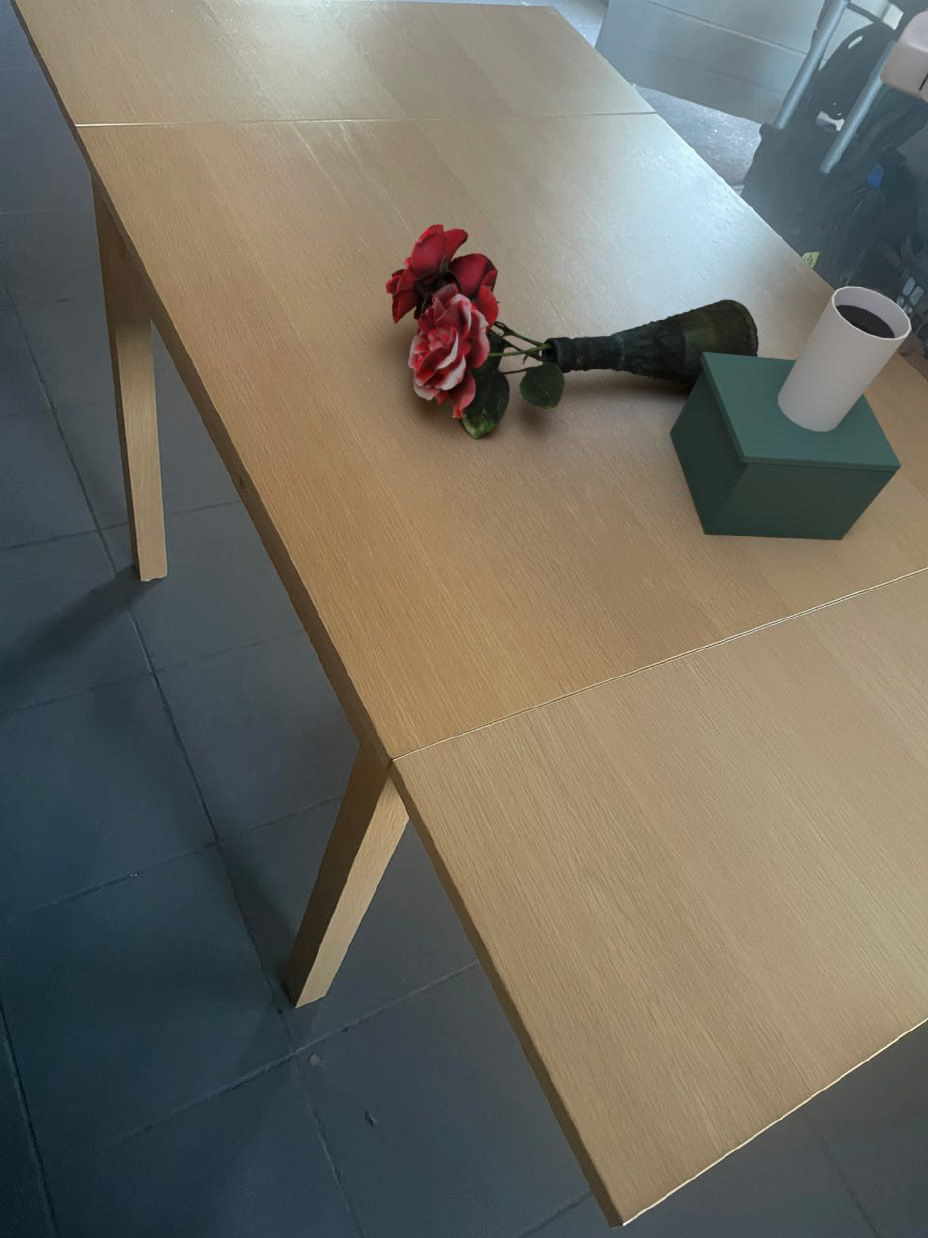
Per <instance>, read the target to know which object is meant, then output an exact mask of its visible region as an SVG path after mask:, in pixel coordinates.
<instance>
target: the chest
mask: <svg viewBox="0 0 928 1238" xmlns="http://www.w3.org/2000/svg"><path fill="white" fill-rule="evenodd" d="M669 434H670V437H671V440H672V444H673V446H674V449H675V452H676V454H677V458H678V460H679V463H680V466H681V469H682V472H683V475H684V478H685V480H686V483H687V486H688V489H689V492H690V495H691V498H692V501H693V503H694V506H695V509H696V512H697V515H698V517H699V518H698V519H699V521H700V524H701V526H702V530H703V533H704V534H705V535H719V536H739V537H740V536H742V537H762V538H763V537H765V538H785V539H786V538H789V539H809V540H810V539H811V540H831V541H833V540H835V541H842V539H843V538H844V537H845V536H846V535H847V533H848V532H849V531H850V530H851V529H852V527H853V526H854V525H855V524H856V522H857V521H858V520H859V519H860V518H861V516H863V514H864V513H865V512H866V511H867V509H868V508H869V506H871V504H872V503H873V502H874V501H875V500H876V499H877V497H878V496H879V494H880V493H881V492H882V491H883V490H884V488H885V487H886V486H887V485H888V483H889V482H890V481H891V480H892V478H893V477H894V476H895V475H896V474H897V472H888V471H871V470H855V469H838V468H822V467H805V466H789V465H772V464H756V463H741V461H740V459H739V456H738V454H737V451H736V449H735V446H734V444H733V441H732V439H731V436H730V434H729V431H728V429H727V426H726V424H725V421H724V419H723V416H722V414H721V411H720V409H719V406H718V403H717V401H716V398H715V396H714V393H713V391H712V388H711V386H710V383H709V381H708V378H707V376H706V373H705V371H704V368H703V370H702V371H701V373H700V375H699V377H698V379H697V381H696V383H695V385H694V387H693V386H692V389H691V390H690V393H689V395H688V397H687V399H686V401H685V402H684V404H683V406H682V408H681V410H680V412H679V414H678V416H677V418H676V420H675V422H674V424H673V425H672V427H671V429H670V431H669Z"/></svg>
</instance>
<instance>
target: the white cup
mask: <svg viewBox="0 0 928 1238" xmlns="http://www.w3.org/2000/svg"><path fill="white" fill-rule="evenodd" d="M911 331H912V324H911V319H910V318H909V317H908V315H907V314H906V312H905V311H904V309H903V308H902V307H900V306H899V305H898V304H897V303H896V302H894V301H893V300H892V299H890V298H889V297H887V296H886V295H884V294H881V293H880V292H878V291H875V290H872V289H868V288H866V287H862V286H851V285H850V286H843V287H841V288H837V289H836V290H835V291H834V293H833V294H832V295H831V297H830V299H829V300H828V302H827V304H826V306H825V308H824V310H823V311H822V313H821V315H820V317H819V319H818V321H817V323H816V324H815V326H814V328H813V330H812V332H811V333H810V335H809V337H808V339H807V342H806V343H805V344H804V347H803V348H802V350H801V352H800V354H799V356H798V358H797V359H796V360H797V361H796V363H795V365H794V367H793V368H792V370H791V372H790V374H789V376H788V378H787V379H786V381H785V383H784V385H783V387H782V389H781V390H780V392H779V394H778V405H779V406H780V408H781V410H782V412H783V413H784V414H785V415H786V416H787V417H788V418H789V419H790V420H791V421H793V422H794V423H796V424H798V425H800V426H801V427H803V428H806V429H809V430H813V431H822V432H827V431H830V430H832V429H835V428H836V427H837V425H838V424H839V423H840V422H841V420H842V419H843V418H844V417H845V415H846V414H847V413H848V411H849V410H850V409H851V408H852V406H853V405H854V404H855V402H856V401H857V400H858V399H859V397H860V396H861V395H862V393H863V394H864V393H865V391H866V390H867V388H868V387H869V386H870V385H871V383H872V382H873V381H874V379H875V378H876V377H877V376H878V374H879V373H880V371H882V370H883V368H884V366H885V365H886V364H887V363H888V361H889V360H890V359H891V358H892V356H893V355H894V354H895V352H896V351H897V350H898V349H899V347H900V346H901V345H902V344H903V342H904V341H905V340H906V338H907V337H908V336H909V334H910V333H911Z"/></svg>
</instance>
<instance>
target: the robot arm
mask: <svg viewBox="0 0 928 1238" xmlns="http://www.w3.org/2000/svg"><path fill="white" fill-rule="evenodd" d="M879 80H880V81H881V82H882V83H883V84H884V85H886V86H888V87H889V88H891V89H894V90H897V91H900V92H902V93H904V94H907V95H909V96H912V97H915V98H917V99H919V100H922V101H924V102H926V103H927V104H928V7H927V8H926V9H925V11H921V12H919V13H917V14H916V15H915V16H914V17H913V18H911V19H910V21H909V22H908V23H907V24H906V26H905V27H904V29H903V30H902V32H901V34H900V36H899V38H898V40H897V42H896V44H895V45H894V47H893V48H892V51H891V52H890V55H889V56H888V58H887V60H886V62H885V64H884V65H883V68H882V70H881V71H880V74H879Z"/></svg>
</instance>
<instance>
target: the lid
mask: <svg viewBox="0 0 928 1238" xmlns="http://www.w3.org/2000/svg"><path fill="white" fill-rule="evenodd" d="M700 361H701V363H702V366H703V368H704V371H705V373H706V376H707V378H708V381H709V383H710V386H711V388H712V391H713V393H714V396H715V398H716V401H717V403H718V406H719V409H720V411H721V414H722V416H723V419H724V421H725V424H726V426H727V429H728V431H729V434H730V436H731V439H732V441H733V444H734V446H735V449H736V451H737V454H738V456H739V459H740V461H741V463H756V464H772V465H789V466H805V467H822V468H838V469H855V470H871V471H888V472H896V473H897V472H898V471H899V470H900V469H901V468H902V463H901V462H900V460H899V458H898V457H897V454H896V453H895V450H894V449H893V447H892V444H890V441H889V440H888V438H887V436H886V433H885V432H884V430H883V428H882V427H881V424H880V422H879V421H878V419H877V417H876V415H875V413H874V411H873V410H872V408H871V405H870V404H869V402H868V400H867V398H866V396H865V395H864V392H863V393H862V395H861V396H860V397H859V399H858V400H857V401H856V402H855V404H854V405H853V406H852V408H851V409H850V410H849V411H848V413H847V414H846V415H845V417H844V418H843V419H842V420H841V422H840V423H839V424H838V425H837V427H836V428H835V429H832V430H830V431H827V432H822V431H813V430H809V429H806V428H803V427H801V426H800V425H798V424H796V423H794V422H793V421H791V420H790V419H789V418H788V417H787V416H786V415H785V414H784V413H783V412H782V410H781V408H780V406H779V405H778V394H779V392H780V390H781V389H782V387H783V385H784V383H785V381H786V379H787V378H788V376H789V374H790V372H791V370H792V368H793V367H794V365H795V363H796V361H797V359H786V358H776V357H775V358H774V357H766V356H765V357H763V356H758V357H755V356H744V355H733V354H721V353H710V352H703V353H702V355H701V357H700Z"/></svg>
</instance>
